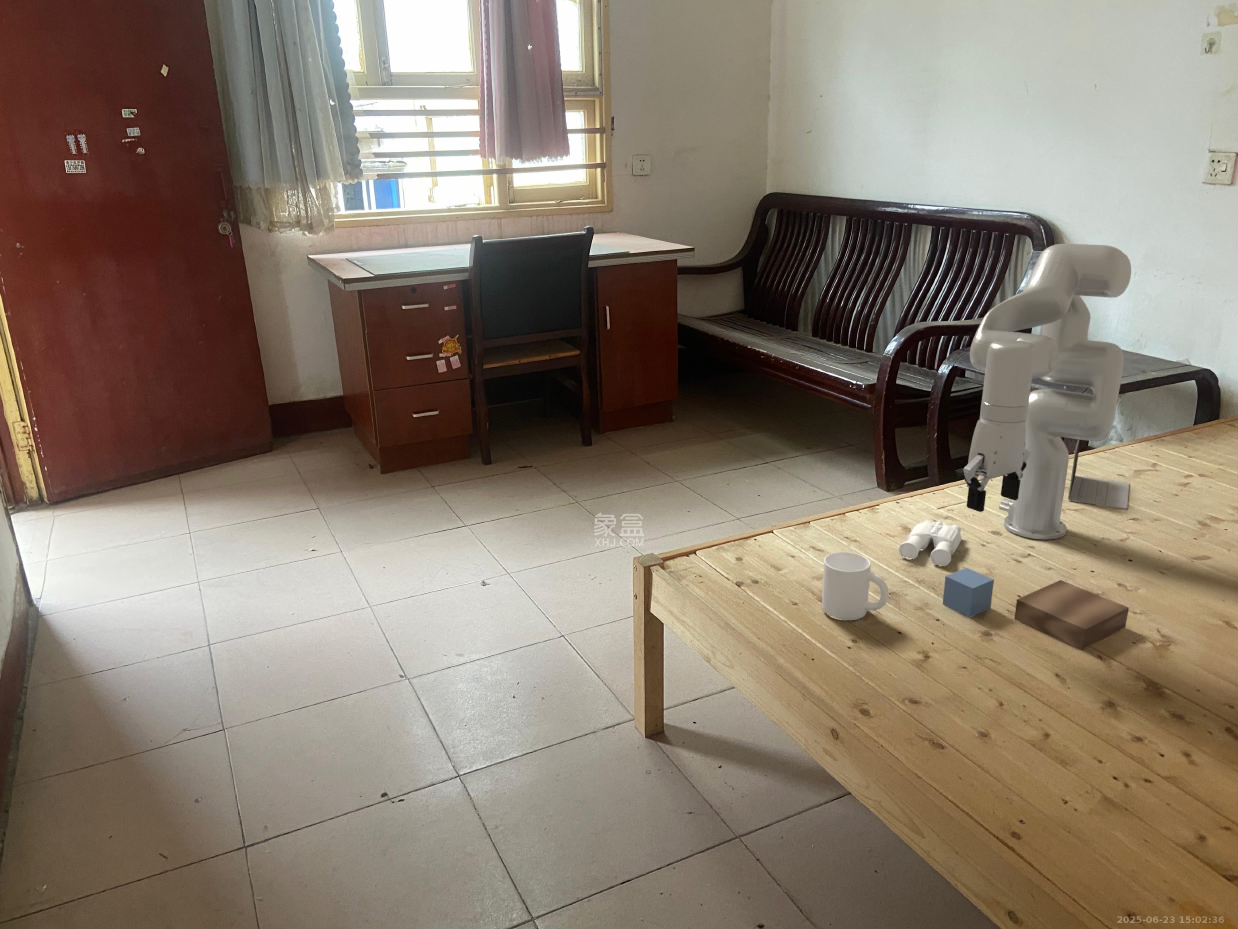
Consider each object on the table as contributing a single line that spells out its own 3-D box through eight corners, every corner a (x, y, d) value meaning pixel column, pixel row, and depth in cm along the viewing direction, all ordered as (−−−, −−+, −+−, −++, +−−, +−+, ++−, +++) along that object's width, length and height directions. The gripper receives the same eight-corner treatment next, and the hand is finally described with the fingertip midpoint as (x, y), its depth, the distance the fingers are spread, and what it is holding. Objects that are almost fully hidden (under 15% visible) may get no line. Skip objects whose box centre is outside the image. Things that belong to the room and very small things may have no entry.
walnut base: (1014, 618, 164) (1016, 599, 163) (1057, 598, 171) (1060, 579, 169) (1081, 650, 154) (1085, 629, 153) (1125, 627, 160) (1128, 607, 159)
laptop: (1126, 511, 209) (1136, 458, 205) (1066, 502, 215) (1074, 451, 211) (1129, 485, 224) (1137, 435, 219) (1072, 478, 230) (1080, 429, 225)
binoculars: (897, 559, 189) (899, 539, 188) (916, 531, 202) (918, 512, 200) (949, 570, 184) (951, 549, 182) (965, 540, 197) (967, 521, 195)
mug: (892, 612, 168) (897, 561, 165) (878, 632, 162) (882, 580, 158) (830, 596, 174) (833, 548, 171) (814, 615, 168) (817, 565, 164)
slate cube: (942, 604, 170) (945, 576, 168) (963, 595, 173) (966, 567, 171) (969, 617, 165) (972, 588, 163) (990, 608, 168) (994, 579, 166)
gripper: (1015, 400, 165) (1003, 488, 170) (953, 415, 156) (943, 507, 161) (1053, 408, 159) (1040, 499, 164) (991, 425, 150) (979, 520, 156)
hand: (992, 503), depth 163 cm, fingers open, 9 cm apart
